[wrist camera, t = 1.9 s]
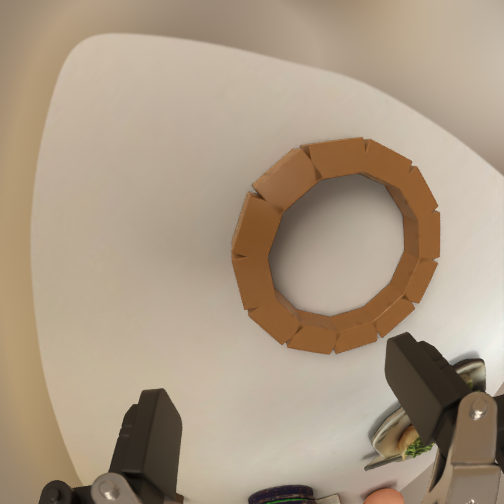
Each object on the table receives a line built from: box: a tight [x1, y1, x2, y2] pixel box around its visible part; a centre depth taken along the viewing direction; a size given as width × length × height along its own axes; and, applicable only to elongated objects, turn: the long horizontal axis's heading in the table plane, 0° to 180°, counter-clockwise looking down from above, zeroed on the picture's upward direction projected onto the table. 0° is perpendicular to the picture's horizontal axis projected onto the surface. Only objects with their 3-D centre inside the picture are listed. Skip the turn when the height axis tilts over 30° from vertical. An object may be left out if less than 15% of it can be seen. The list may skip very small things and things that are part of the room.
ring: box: [231, 137, 440, 354], centre depth 18 cm, size 14×14×2 cm
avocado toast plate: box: [364, 359, 486, 471], centre depth 25 cm, size 19×18×5 cm
